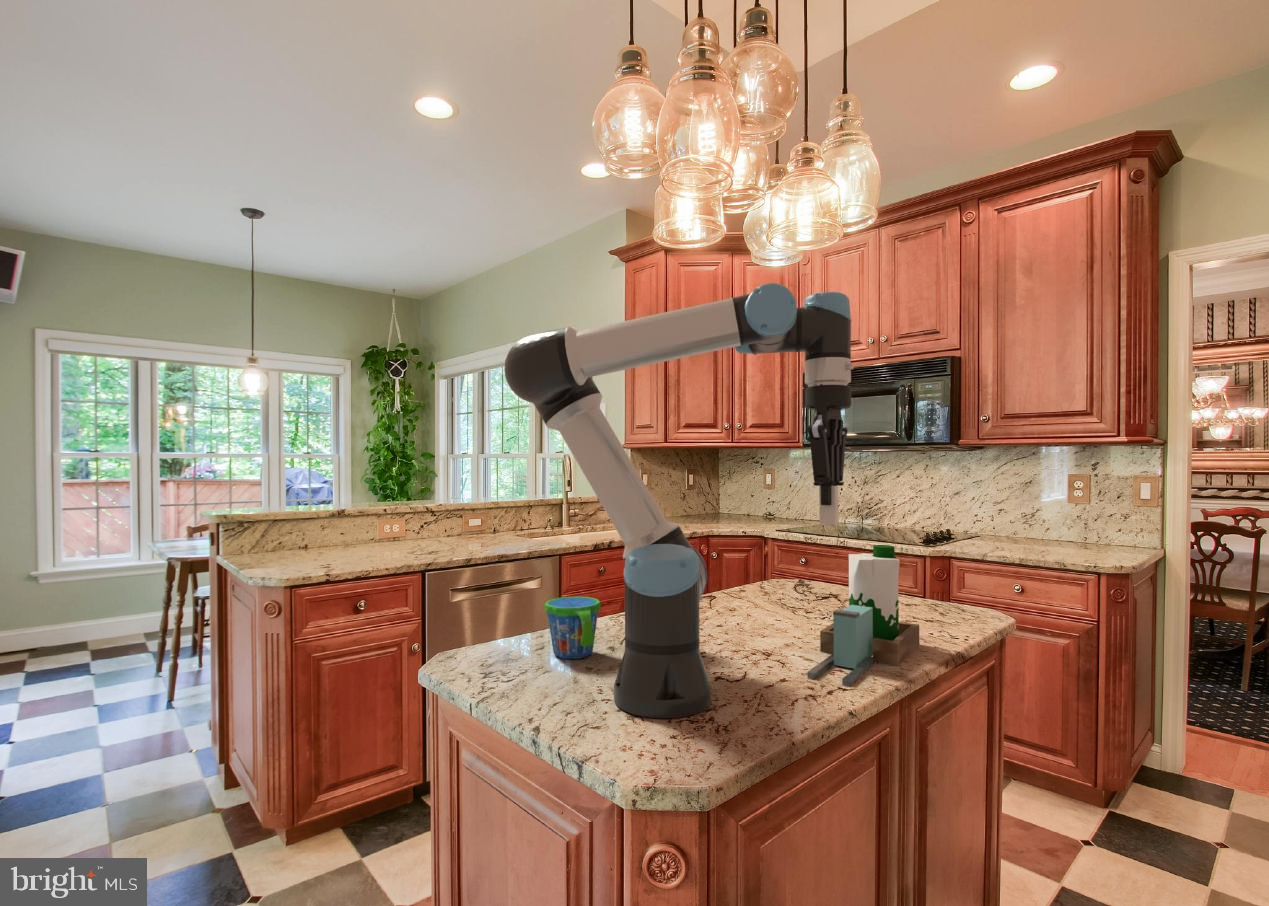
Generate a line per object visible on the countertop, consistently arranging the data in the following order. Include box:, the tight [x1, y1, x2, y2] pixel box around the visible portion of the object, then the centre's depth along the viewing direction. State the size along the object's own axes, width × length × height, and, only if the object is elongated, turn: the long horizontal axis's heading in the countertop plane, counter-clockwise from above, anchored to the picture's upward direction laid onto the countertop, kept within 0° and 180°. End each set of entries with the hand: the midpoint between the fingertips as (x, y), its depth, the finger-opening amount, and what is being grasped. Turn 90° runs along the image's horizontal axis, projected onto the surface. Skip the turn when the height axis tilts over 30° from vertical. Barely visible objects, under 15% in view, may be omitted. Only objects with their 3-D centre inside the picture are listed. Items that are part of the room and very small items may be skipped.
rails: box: [806, 653, 877, 687], centre depth 112 cm, size 7×15×1 cm, turn 143°
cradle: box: [819, 621, 920, 666], centre depth 126 cm, size 14×16×4 cm
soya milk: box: [848, 544, 901, 641], centre depth 127 cm, size 9×9×20 cm
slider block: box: [832, 605, 873, 670], centre depth 117 cm, size 4×10×10 cm, turn 143°
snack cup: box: [544, 596, 602, 660], centre depth 122 cm, size 16×10×10 cm
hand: (828, 524), depth 107 cm, fingers closed
